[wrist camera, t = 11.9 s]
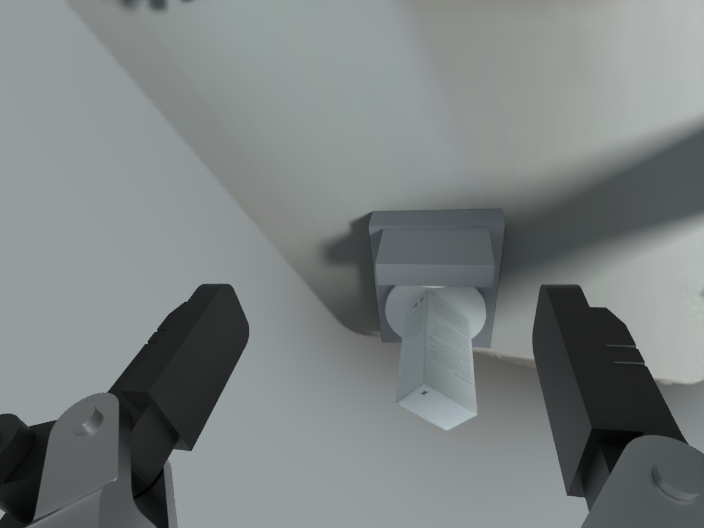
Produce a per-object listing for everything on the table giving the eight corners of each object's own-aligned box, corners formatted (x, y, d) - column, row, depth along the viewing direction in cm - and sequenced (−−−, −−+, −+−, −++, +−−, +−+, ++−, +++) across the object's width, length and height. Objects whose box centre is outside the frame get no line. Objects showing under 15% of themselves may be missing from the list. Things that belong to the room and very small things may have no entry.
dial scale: (501, 208, 39) (514, 262, 32) (488, 329, 49) (495, 390, 42) (372, 211, 42) (358, 261, 35) (384, 324, 52) (375, 381, 44)
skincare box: (403, 310, 44) (392, 403, 35) (427, 288, 41) (423, 382, 32) (446, 336, 45) (446, 433, 36) (471, 316, 43) (479, 415, 33)
